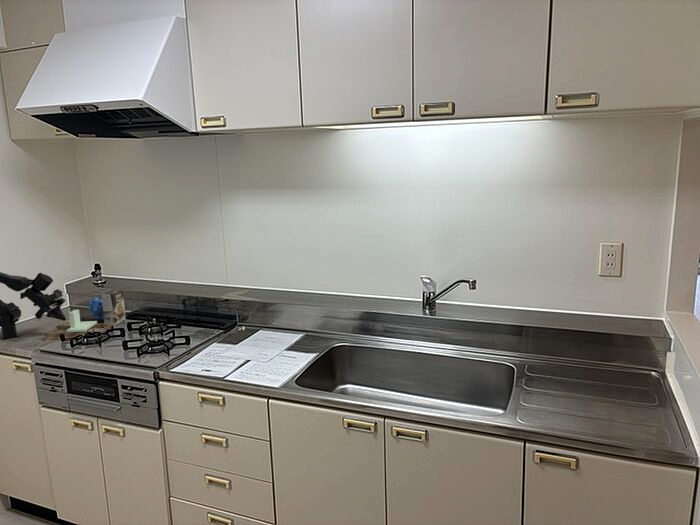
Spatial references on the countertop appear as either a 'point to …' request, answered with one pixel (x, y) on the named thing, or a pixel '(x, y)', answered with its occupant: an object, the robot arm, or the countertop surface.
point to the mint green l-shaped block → (78, 323)
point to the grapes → (96, 308)
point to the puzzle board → (63, 330)
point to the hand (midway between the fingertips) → (65, 319)
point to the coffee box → (113, 307)
